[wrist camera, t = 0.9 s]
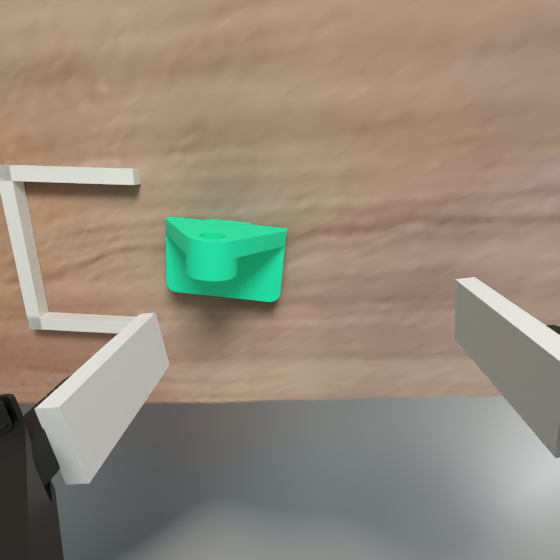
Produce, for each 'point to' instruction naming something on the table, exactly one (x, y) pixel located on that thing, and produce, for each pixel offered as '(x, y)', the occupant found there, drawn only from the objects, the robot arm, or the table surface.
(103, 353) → the robot arm
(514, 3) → the table surface
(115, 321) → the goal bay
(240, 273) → the camera mount
